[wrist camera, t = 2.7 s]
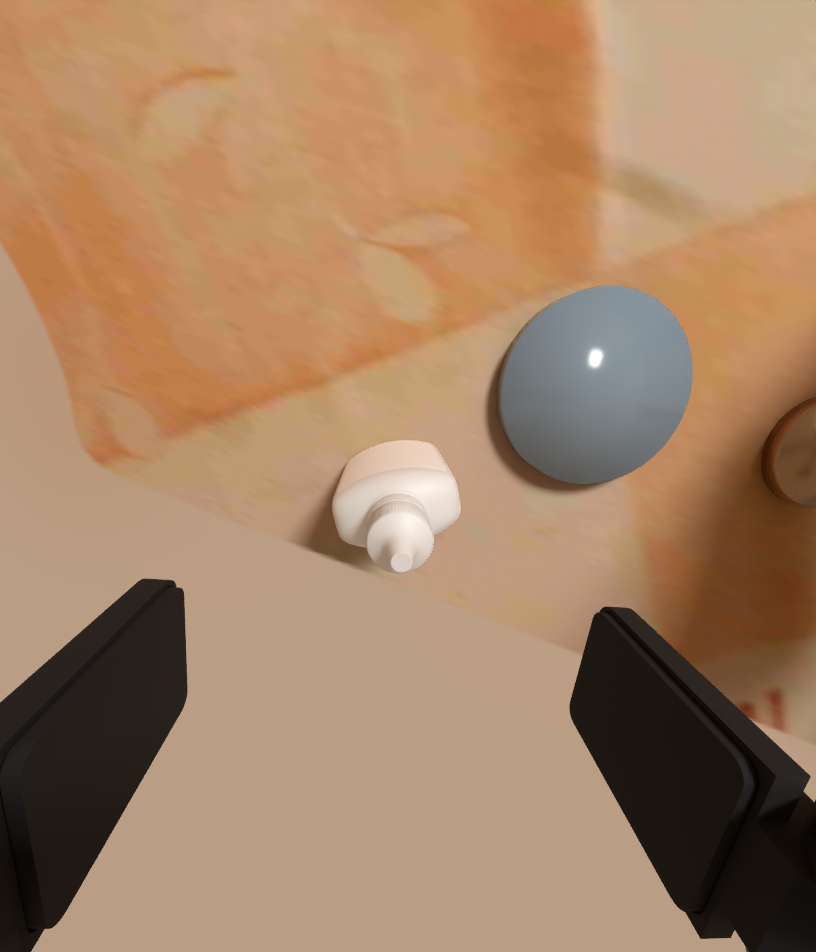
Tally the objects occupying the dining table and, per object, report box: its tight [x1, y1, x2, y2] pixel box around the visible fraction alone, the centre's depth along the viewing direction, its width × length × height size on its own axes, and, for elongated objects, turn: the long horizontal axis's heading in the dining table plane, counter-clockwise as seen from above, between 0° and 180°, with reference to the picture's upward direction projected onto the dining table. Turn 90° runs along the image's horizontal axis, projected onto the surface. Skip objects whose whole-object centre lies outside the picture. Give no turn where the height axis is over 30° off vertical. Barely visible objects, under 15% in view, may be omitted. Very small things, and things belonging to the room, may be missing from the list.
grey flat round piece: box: [497, 286, 692, 484], centre depth 22 cm, size 11×11×1 cm
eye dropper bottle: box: [332, 440, 461, 573], centre depth 18 cm, size 4×6×12 cm
